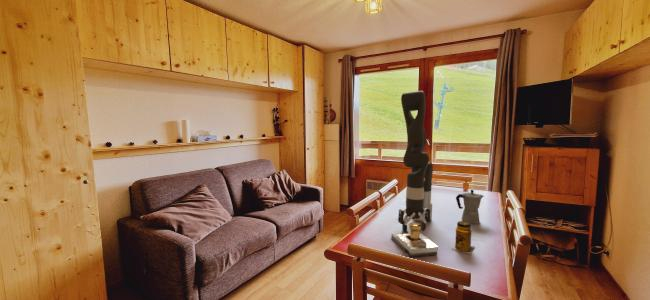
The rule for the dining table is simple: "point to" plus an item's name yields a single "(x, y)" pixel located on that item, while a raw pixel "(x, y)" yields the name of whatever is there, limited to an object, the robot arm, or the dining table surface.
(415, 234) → the brass pin
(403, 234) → the slotted plate with knobs
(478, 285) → the dining table surface
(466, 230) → the yellow jar
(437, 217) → the dining table surface
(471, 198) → the coffeepot
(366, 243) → the dining table surface
